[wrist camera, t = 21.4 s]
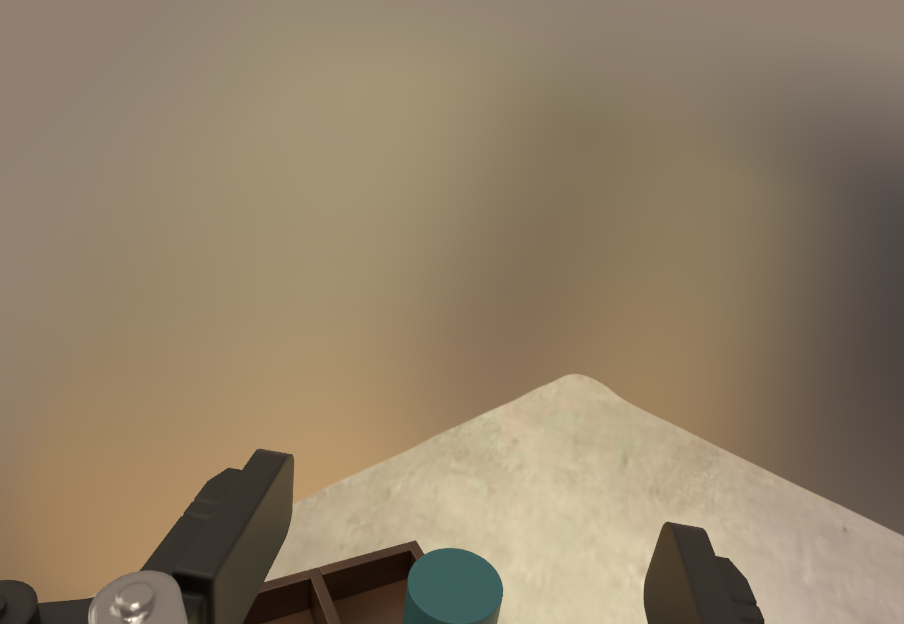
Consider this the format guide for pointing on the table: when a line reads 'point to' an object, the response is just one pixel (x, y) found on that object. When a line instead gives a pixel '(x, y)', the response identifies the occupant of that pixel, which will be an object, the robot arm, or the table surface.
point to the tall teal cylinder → (452, 589)
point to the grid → (340, 591)
